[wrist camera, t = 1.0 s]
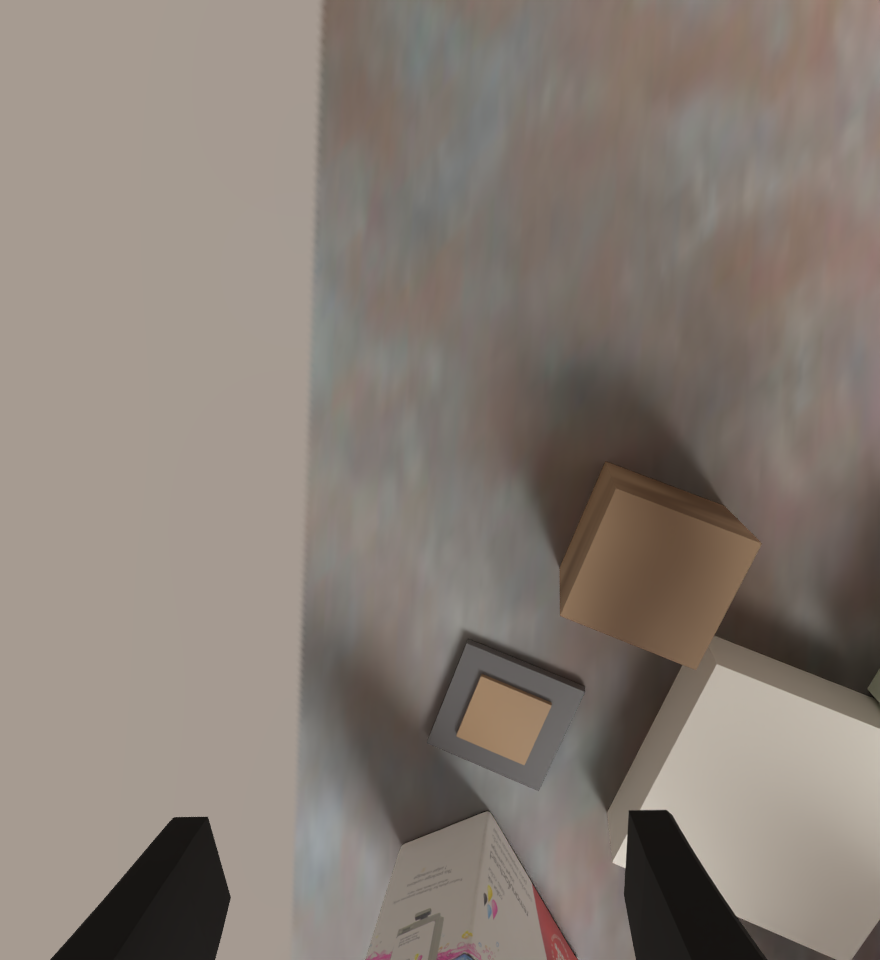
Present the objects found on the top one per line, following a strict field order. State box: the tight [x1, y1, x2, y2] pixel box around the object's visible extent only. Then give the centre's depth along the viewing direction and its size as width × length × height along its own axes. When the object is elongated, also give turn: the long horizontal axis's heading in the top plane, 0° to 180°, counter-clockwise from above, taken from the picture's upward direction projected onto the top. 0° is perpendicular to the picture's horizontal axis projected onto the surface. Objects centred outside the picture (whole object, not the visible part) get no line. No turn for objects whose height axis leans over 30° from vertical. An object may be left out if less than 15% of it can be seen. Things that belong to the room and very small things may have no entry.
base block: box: [607, 636, 880, 960], centre depth 24 cm, size 9×9×3 cm
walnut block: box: [560, 461, 762, 670], centre depth 22 cm, size 4×4×4 cm
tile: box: [427, 639, 585, 791], centre depth 26 cm, size 5×5×1 cm
